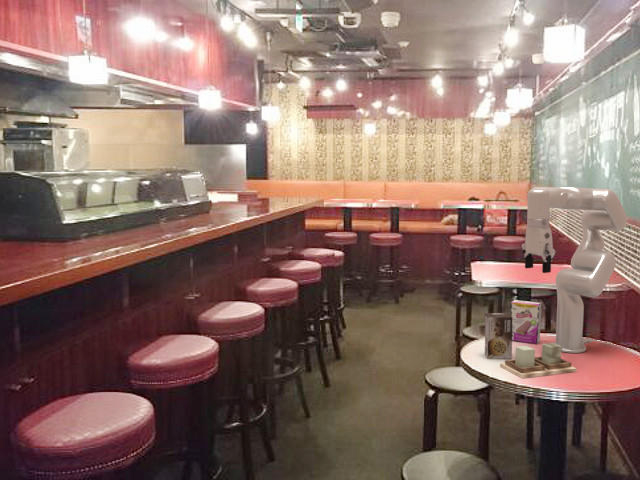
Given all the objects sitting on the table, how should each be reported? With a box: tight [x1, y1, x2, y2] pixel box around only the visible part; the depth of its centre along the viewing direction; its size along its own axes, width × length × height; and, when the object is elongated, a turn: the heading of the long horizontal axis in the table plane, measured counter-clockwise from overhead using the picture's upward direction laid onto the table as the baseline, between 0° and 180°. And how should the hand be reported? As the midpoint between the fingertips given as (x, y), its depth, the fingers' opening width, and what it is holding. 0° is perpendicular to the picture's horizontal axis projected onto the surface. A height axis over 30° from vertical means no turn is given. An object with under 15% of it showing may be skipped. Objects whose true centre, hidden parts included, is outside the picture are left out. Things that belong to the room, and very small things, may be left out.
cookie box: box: [484, 312, 513, 360], centre depth 230 cm, size 9×6×16 cm
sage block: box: [514, 345, 536, 368], centre depth 214 cm, size 4×4×7 cm
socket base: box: [499, 342, 578, 379], centre depth 215 cm, size 22×13×8 cm, turn 107°
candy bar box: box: [510, 299, 542, 345], centre depth 249 cm, size 11×5×16 cm, turn 59°
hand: (537, 270), depth 222 cm, fingers open, 9 cm apart
